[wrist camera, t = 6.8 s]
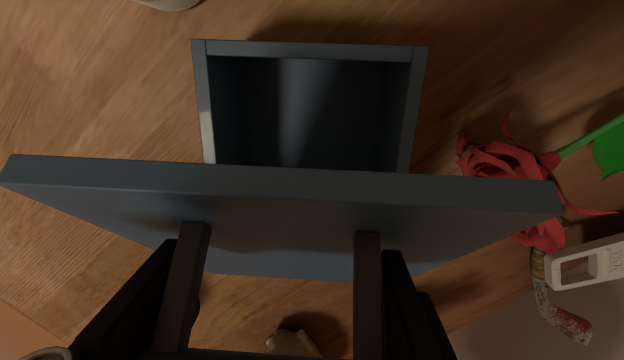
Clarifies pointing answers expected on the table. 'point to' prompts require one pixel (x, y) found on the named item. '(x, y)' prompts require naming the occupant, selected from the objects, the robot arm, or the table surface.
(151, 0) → the water bottle
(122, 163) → the lid
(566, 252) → the zipper pull
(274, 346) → the cream hollow lumpy ball
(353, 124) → the chest
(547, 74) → the table surface
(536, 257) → the machete
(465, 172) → the flower
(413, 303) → the robot arm
